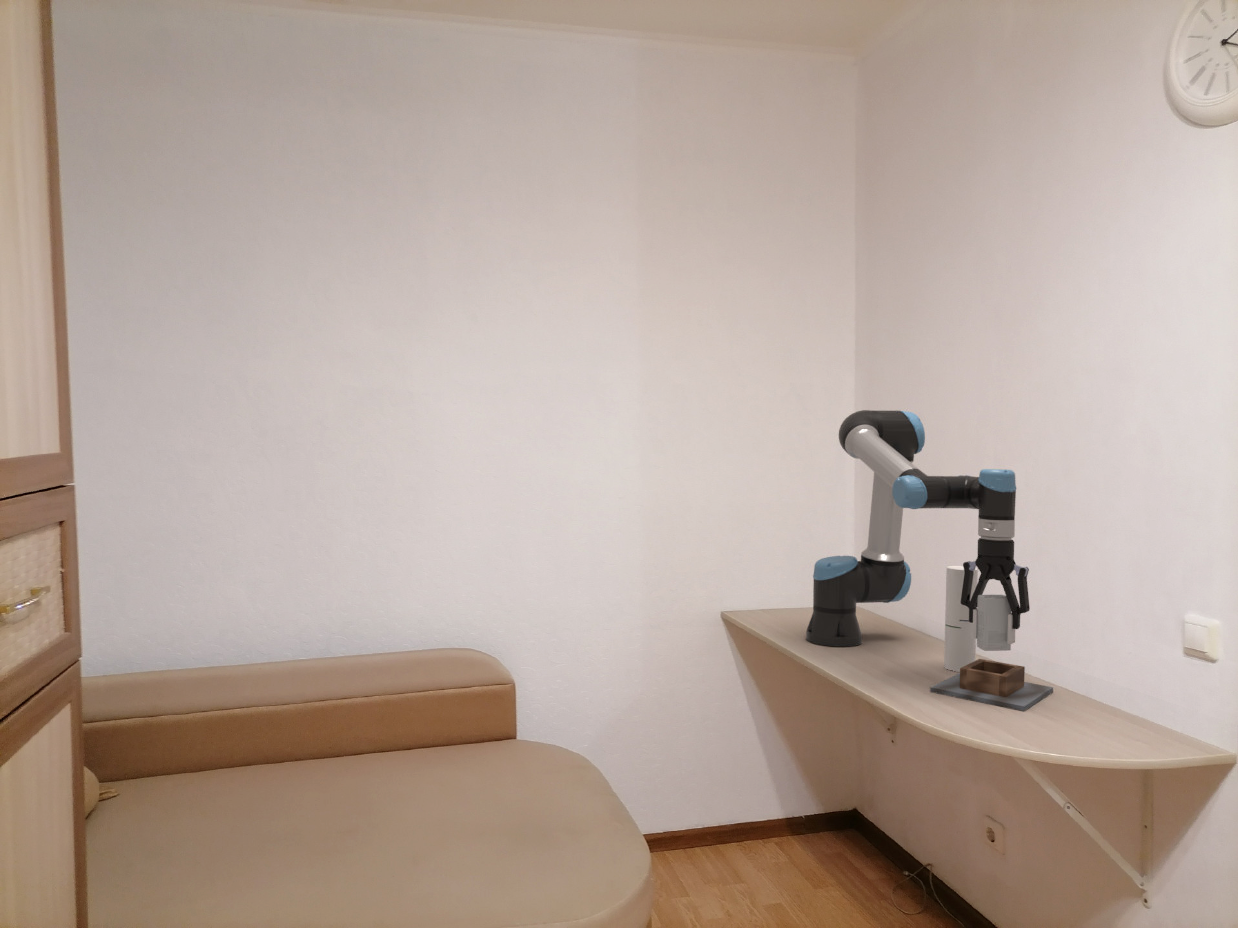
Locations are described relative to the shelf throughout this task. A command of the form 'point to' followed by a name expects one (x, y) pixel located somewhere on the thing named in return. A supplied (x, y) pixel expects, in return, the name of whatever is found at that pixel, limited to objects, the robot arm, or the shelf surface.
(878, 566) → the robot arm
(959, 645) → the cylindrical container
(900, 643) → the shelf surface
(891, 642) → the shelf surface
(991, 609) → the skincare box
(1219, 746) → the shelf surface
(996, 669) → the socket
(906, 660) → the shelf surface
